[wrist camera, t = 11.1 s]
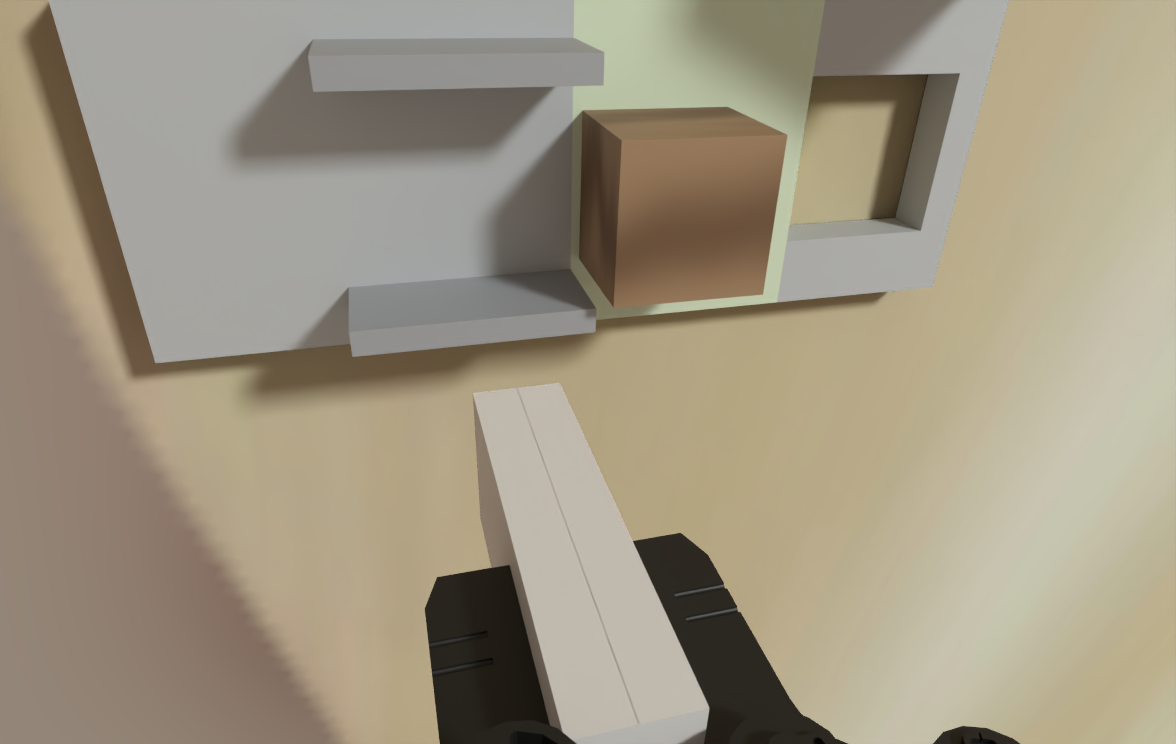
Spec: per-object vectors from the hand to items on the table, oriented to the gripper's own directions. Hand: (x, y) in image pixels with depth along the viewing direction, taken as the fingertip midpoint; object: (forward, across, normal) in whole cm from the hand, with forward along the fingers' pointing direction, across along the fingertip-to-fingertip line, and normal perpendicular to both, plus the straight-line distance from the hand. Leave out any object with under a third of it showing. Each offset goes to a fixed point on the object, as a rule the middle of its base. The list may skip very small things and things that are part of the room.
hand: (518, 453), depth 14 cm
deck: (+20, +7, 0) cm, 21 cm away
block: (+18, +9, -1) cm, 20 cm away
